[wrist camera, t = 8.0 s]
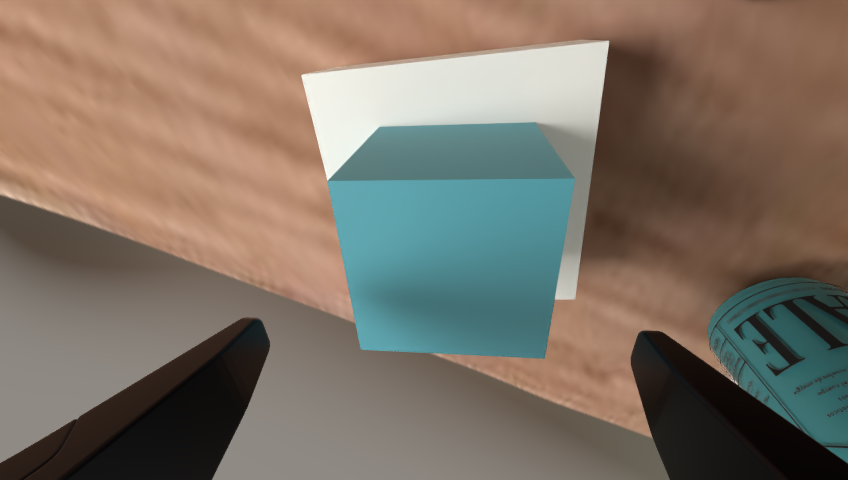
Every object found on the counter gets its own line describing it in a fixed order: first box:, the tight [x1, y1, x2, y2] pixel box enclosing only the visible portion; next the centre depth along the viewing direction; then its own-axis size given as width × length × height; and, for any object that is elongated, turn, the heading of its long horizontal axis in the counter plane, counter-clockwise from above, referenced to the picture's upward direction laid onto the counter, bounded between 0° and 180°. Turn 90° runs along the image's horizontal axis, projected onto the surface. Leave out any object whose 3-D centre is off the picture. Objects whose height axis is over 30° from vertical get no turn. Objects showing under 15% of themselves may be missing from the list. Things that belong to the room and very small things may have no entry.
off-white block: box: [301, 40, 609, 299], centre depth 17 cm, size 11×11×4 cm
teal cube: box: [327, 122, 575, 359], centre depth 13 cm, size 6×6×6 cm
